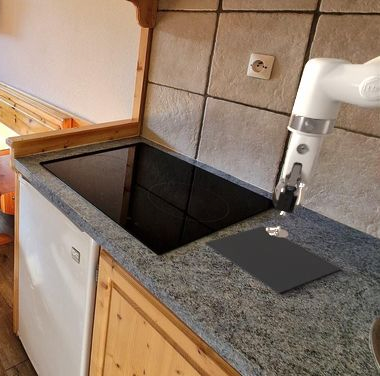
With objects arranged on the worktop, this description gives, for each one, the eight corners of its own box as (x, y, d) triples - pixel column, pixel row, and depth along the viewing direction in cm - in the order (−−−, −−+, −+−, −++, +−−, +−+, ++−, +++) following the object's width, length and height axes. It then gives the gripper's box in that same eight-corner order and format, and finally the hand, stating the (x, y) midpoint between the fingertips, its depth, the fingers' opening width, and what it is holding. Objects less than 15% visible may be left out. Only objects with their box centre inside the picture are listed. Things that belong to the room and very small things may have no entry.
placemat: (340, 270, 89) (341, 268, 89) (279, 294, 81) (279, 292, 81) (262, 227, 105) (262, 225, 105) (204, 243, 97) (205, 242, 97)
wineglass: (269, 223, 94) (283, 175, 89) (295, 233, 90) (312, 184, 85) (258, 231, 90) (272, 182, 85) (285, 242, 86) (302, 191, 81)
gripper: (331, 138, 71) (301, 227, 79) (335, 118, 84) (309, 196, 92) (284, 130, 75) (259, 215, 83) (294, 112, 88) (272, 187, 96)
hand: (285, 204), depth 87 cm, fingers closed on wineglass, 5 cm apart
